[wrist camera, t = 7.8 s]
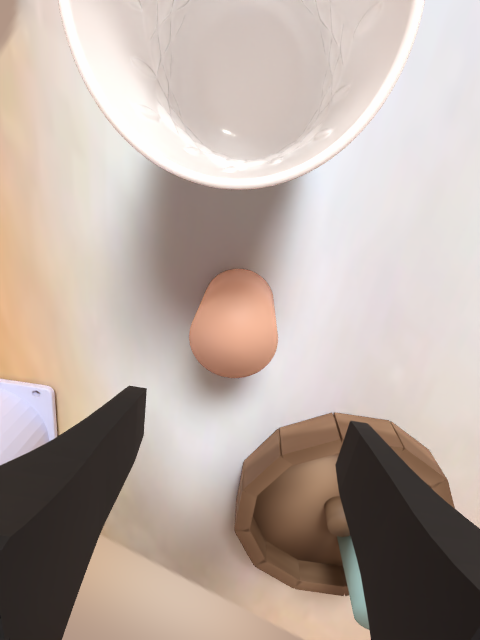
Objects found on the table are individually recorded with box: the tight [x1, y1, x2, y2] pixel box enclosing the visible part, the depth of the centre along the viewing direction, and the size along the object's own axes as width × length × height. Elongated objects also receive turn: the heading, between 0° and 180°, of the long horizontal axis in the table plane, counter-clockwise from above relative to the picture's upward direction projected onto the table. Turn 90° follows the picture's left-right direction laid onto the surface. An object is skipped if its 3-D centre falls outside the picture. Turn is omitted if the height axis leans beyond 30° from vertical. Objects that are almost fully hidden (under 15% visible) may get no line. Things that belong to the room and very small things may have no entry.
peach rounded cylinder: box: [189, 269, 278, 378], centre depth 19 cm, size 4×4×5 cm
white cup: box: [58, 0, 425, 190], centre depth 12 cm, size 8×8×10 cm
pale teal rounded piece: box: [337, 536, 370, 630], centre depth 24 cm, size 4×4×5 cm
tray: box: [235, 413, 455, 596], centre depth 25 cm, size 14×14×2 cm
